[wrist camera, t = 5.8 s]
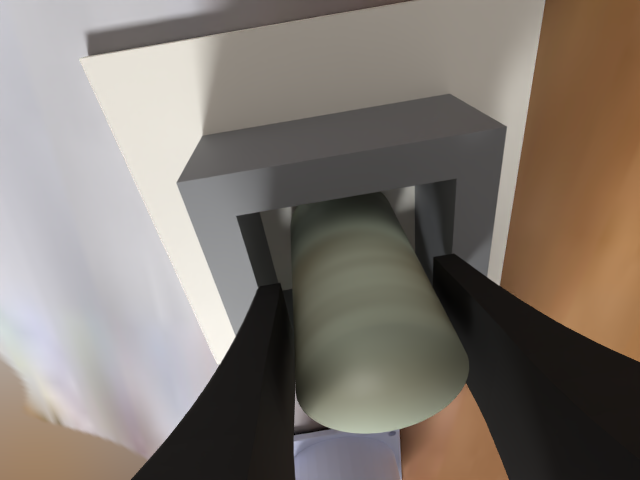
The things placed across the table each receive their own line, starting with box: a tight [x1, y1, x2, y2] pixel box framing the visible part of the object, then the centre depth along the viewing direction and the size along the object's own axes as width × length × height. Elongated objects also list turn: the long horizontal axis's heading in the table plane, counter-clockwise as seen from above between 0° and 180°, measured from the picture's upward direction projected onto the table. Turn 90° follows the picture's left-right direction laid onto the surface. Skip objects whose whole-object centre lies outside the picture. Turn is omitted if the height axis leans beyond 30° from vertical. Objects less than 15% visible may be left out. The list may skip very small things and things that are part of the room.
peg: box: [290, 191, 469, 434], centre depth 12 cm, size 4×4×7 cm
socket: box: [79, 0, 545, 364], centre depth 14 cm, size 14×14×4 cm
